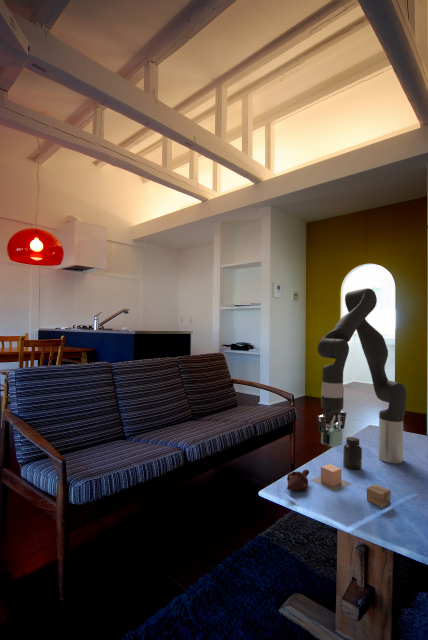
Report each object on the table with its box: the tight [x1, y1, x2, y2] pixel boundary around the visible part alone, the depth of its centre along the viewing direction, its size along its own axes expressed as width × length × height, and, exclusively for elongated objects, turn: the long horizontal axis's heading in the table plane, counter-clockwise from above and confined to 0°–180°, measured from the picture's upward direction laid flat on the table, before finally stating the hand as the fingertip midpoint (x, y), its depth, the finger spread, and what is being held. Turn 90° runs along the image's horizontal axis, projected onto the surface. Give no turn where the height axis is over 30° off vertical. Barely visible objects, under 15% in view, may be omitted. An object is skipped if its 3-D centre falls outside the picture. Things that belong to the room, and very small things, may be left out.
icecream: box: [286, 469, 310, 493], centre depth 119 cm, size 7×7×15 cm
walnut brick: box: [366, 483, 392, 511], centre depth 112 cm, size 5×5×5 cm
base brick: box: [320, 463, 343, 486], centre depth 125 cm, size 5×5×5 cm
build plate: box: [310, 475, 352, 492], centre depth 125 cm, size 10×10×1 cm
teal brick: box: [320, 427, 343, 448], centre depth 125 cm, size 5×5×5 cm
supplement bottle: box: [342, 436, 363, 471], centre depth 139 cm, size 7×7×12 cm
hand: (331, 442), depth 125 cm, fingers closed on teal brick, 5 cm apart
